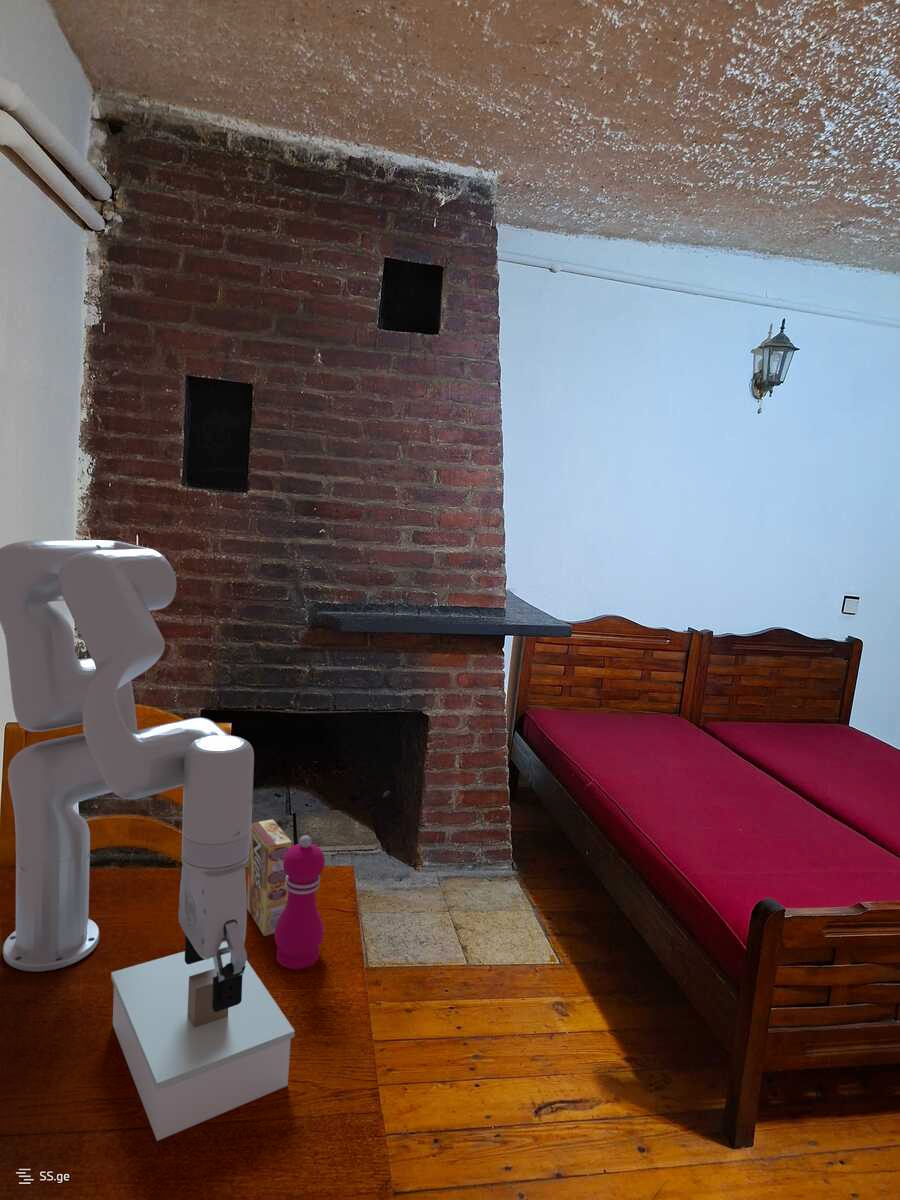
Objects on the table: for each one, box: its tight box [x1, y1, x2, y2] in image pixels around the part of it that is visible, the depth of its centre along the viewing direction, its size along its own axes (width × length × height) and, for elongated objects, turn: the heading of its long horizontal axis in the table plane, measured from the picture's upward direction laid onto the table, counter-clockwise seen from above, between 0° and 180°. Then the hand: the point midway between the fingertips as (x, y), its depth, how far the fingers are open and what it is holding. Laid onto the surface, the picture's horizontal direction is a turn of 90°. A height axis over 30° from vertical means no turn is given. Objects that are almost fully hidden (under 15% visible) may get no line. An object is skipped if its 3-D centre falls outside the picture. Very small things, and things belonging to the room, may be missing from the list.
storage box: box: [112, 986, 292, 1142], centre depth 93 cm, size 20×15×7 cm
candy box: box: [246, 819, 293, 937], centre depth 123 cm, size 9×4×15 cm, turn 33°
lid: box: [110, 941, 296, 1090], centre depth 92 cm, size 21×16×6 cm
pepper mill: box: [273, 835, 326, 970], centre depth 113 cm, size 7×7×20 cm
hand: (211, 982), depth 89 cm, fingers open, 9 cm apart
